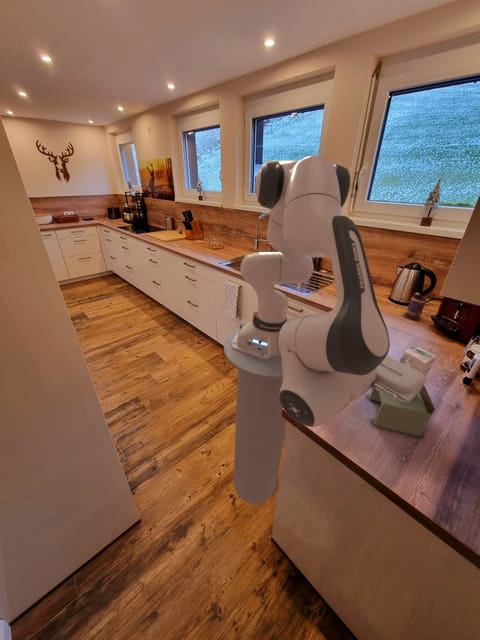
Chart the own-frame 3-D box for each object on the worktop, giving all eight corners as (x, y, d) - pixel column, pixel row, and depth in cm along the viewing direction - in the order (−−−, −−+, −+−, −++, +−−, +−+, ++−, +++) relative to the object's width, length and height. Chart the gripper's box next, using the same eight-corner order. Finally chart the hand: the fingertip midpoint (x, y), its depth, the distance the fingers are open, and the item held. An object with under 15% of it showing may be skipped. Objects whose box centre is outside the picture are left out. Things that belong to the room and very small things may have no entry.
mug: (420, 321, 135) (429, 300, 129) (405, 318, 138) (413, 297, 132) (417, 313, 144) (425, 293, 138) (402, 310, 146) (410, 290, 140)
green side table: (374, 425, 77) (385, 398, 71) (368, 396, 87) (378, 370, 82) (420, 436, 74) (435, 408, 69) (409, 405, 84) (421, 379, 79)
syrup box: (417, 396, 75) (437, 355, 68) (407, 404, 72) (426, 362, 65) (398, 384, 79) (415, 344, 72) (387, 391, 76) (403, 350, 70)
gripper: (412, 392, 42) (443, 361, 50) (311, 336, 56) (348, 318, 64) (399, 419, 45) (431, 386, 53) (306, 359, 59) (342, 340, 67)
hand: (384, 349), depth 58 cm, fingers open, 8 cm apart
